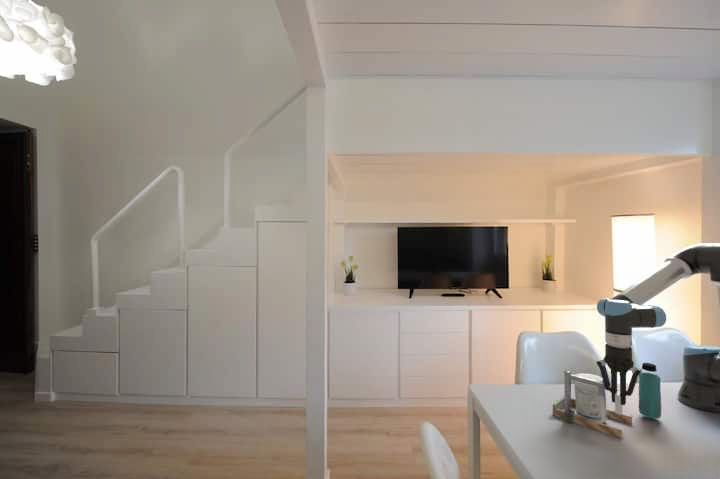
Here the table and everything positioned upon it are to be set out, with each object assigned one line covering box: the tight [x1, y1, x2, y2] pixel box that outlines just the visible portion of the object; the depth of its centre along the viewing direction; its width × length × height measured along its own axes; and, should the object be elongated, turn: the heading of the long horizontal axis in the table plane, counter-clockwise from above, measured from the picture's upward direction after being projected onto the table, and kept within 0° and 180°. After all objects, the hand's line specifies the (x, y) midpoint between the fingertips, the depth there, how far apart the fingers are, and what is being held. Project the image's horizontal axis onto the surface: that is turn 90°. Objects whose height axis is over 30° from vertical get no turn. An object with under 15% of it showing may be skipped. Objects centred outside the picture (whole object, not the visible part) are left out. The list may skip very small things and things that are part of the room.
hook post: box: [563, 370, 606, 424], centre depth 122 cm, size 12×2×18 cm, turn 42°
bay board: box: [552, 395, 633, 439], centre depth 128 cm, size 21×15×4 cm
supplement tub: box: [573, 372, 608, 424], centre depth 129 cm, size 10×10×15 cm
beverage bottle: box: [637, 362, 662, 420], centre depth 129 cm, size 6×7×20 cm
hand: (618, 412), depth 122 cm, fingers closed
